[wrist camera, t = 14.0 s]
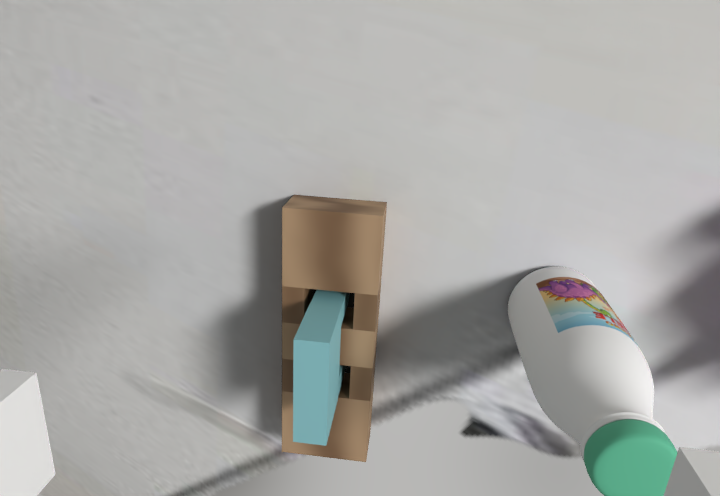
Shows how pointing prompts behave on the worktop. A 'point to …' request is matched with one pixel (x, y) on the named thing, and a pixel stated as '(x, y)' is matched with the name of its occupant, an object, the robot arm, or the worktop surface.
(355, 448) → the wooden slotted block
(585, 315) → the milk bottle
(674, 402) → the worktop surface
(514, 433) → the worktop surface
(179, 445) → the worktop surface
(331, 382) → the clip
